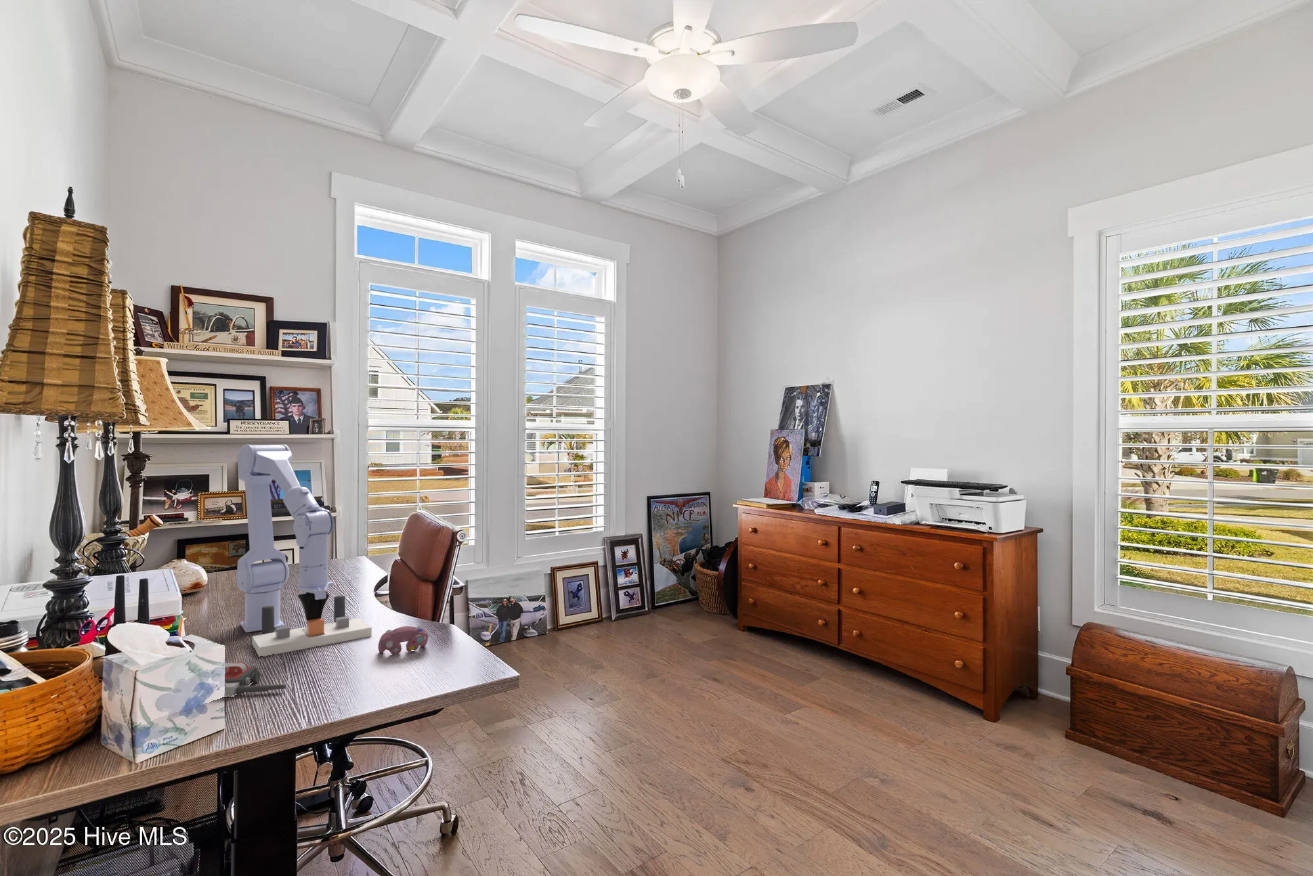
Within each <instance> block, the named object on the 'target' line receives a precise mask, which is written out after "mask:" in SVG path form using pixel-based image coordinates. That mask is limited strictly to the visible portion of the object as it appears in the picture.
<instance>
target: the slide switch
mask: <svg viewBox="0 0 1313 876" xmlns="http://www.w3.org/2000/svg"><path fill="white" fill-rule="evenodd" d="M324 624H325V620H324V618H322V617H321V618H320V619H314V620H307V621H306V627H307V635H308V636H313V635H319V634H324Z"/></svg>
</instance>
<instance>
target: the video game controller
mask: <svg viewBox="0 0 1313 876" xmlns="http://www.w3.org/2000/svg"><path fill="white" fill-rule="evenodd" d="M428 640H429V634H428V632H427V630H426V629H425V628H424V627H423V626H422V625H418V626H416V627H415V626H412V625H402V626H399V627H396V628H394V629H393V630H392V629H388V630H386V631H385V632H384V633H383V634H382V635H381V636H380V637H379V642H378V644H377V645H378V646H377V648H378V649H377V650H378V652H379V654H383V653H384V652H385V651H389V653H390V654H391V655H399V654H400V653H401V652H402V644H401V643H406V644H405V649H406V651H407V652H408V653H410V652H409V651H411V650H416V651H417V650H418V648H419V647H421V648H425V647H426V646H427V644H428Z"/></svg>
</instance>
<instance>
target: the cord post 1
mask: <svg viewBox="0 0 1313 876" xmlns="http://www.w3.org/2000/svg"><path fill="white" fill-rule="evenodd" d="M274 632H275V628H274V606H265V607H262V630H261V635H262V634H268V633H274Z"/></svg>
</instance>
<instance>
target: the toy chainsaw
mask: <svg viewBox="0 0 1313 876" xmlns="http://www.w3.org/2000/svg"><path fill="white" fill-rule="evenodd" d="M224 663H225V662H224ZM224 669H226V674H225V681H226V696H228V695H229V696H232V695H235V694H237V695H239V694H241V693H243V694H245V693H257V692H258V693H261V692H263V693H264V692H268V691H273V690H285V689H286V685H285V684H283V683H282V684H266V685H251V686H248V685H249V684H250V683H252V682H257V681H258V682H259V681H260V679H261V671H259V670H258V667H256V666H255V667H254V666H252V667H249V666H248V665H247V664H246V663H245V662H235V663H234V662H227V663H225V668H224ZM258 682H257V683H258ZM244 692H245V693H244ZM241 695H242V694H241Z"/></svg>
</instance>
